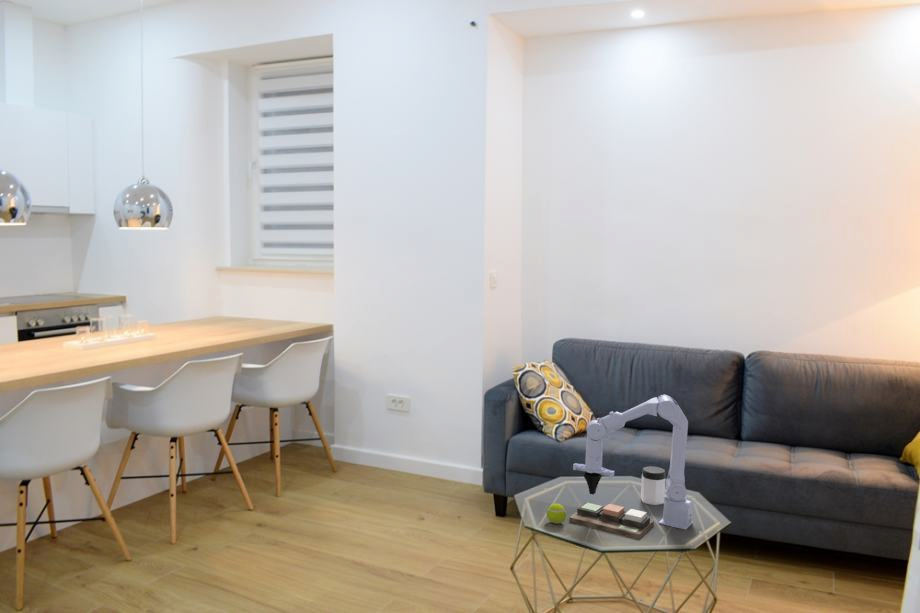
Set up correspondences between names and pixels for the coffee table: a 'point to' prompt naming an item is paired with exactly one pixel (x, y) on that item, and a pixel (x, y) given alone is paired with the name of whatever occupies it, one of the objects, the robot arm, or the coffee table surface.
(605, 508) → the key terracotta
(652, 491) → the jar
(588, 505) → the key sage
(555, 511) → the tennis ball
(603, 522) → the console
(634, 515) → the key white
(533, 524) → the coffee table surface
